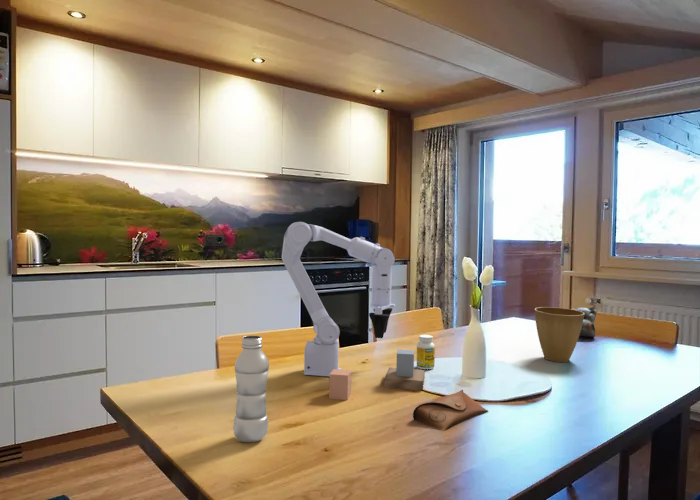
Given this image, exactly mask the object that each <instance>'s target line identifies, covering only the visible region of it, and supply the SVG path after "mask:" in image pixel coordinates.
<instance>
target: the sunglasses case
mask: <svg viewBox="0 0 700 500" xmlns="http://www.w3.org/2000/svg"><path fill="white" fill-rule="evenodd" d="M488 412H489V410H488V409H487V408H485V407H483V406H482V405H481V404H479V403H478V402H477V401H476V400H474V399H473V398H471V397H470V396H469V395H468V394H467V393H466V392H465V391H464V390H463V389H460V391H457V392H455V393H451V394H447V395H445V396H442V397H439V398H436V399H433V400H432V401H429V402H424V403H421V404H419V405H417V406H416V407H415V408H414V409H413V413H412V418H413V420H414V422H417V423H419V424H423V425H426V426H427V427H431V428H433V429H437V430H439V431H441V432H445V431H448V430H449V429H450V428H452V427H455V426H456V425H458V424H460V423H463V422H464V421H467V420H469V419H471V418H474V417H477V416H479V415H480V416H481V415H482V414H486V413H488Z"/></svg>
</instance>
